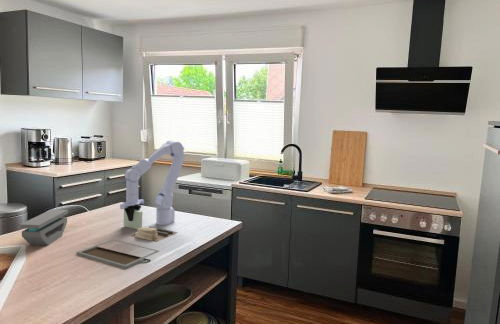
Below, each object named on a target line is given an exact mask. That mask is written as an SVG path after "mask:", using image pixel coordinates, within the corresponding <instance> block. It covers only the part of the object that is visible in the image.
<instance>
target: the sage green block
mask: <svg viewBox="0 0 500 324" xmlns="http://www.w3.org/2000/svg"><path fill="white" fill-rule="evenodd" d="M123 227H126V228H130V229H134V230H138V229H139V228H141V227H143V211H141V210H134V214H133V221H129V220H128V216H127V214H126V212H125V210H124V209H123Z"/></svg>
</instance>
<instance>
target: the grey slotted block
mask: <svg viewBox="0 0 500 324" xmlns="http://www.w3.org/2000/svg"><path fill="white" fill-rule="evenodd" d="M68 214H69V210H68V209H54V208H53V209H49V210H48V211H45V212H43V213H41V214H39V215H37V216H35V217H32V218H30V219H28V220H26V221H24V222H22V223H20V224H19V229H24V230H21V237H22V238H23V239H24V240H25V241H26V242H27V243H28V244H29V245H32V246H33V245H35V246H36V245H37V246H49V245H51V244H52V243H55V242H56V241H57V240H60V238H62V237H63V234H64V232H65V228H66V226H67V223H68V217H65V215H68Z"/></svg>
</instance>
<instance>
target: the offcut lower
mask: <svg viewBox="0 0 500 324" xmlns="http://www.w3.org/2000/svg"><path fill="white" fill-rule="evenodd" d="M134 234H135V237H138V238H137V239H140V238H143V239H142V240H145V239H147V240H146V241H149V240H153V239H155V238H158V233H156V234H154V235H145V234H139V233H138V231H137V232H135V233H134ZM135 237H134V238H135Z"/></svg>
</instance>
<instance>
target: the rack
mask: <svg viewBox="0 0 500 324" xmlns="http://www.w3.org/2000/svg"><path fill="white" fill-rule="evenodd" d="M148 228H155V229H157V233H158V238H155V239H153V240H147V239H143V238H138V237H135V233H133V234H130V235H129V237H131V238H134V239H135V238H137V239H141V240H145V241H150V242H155V243H158V242H160V241H162V240H164V239H166V238H167V239H168V237H170V236H174V235H176V234H178V233H179V232H177V231H173V230H169V229H162V228H159V227H153V226H148Z"/></svg>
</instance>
